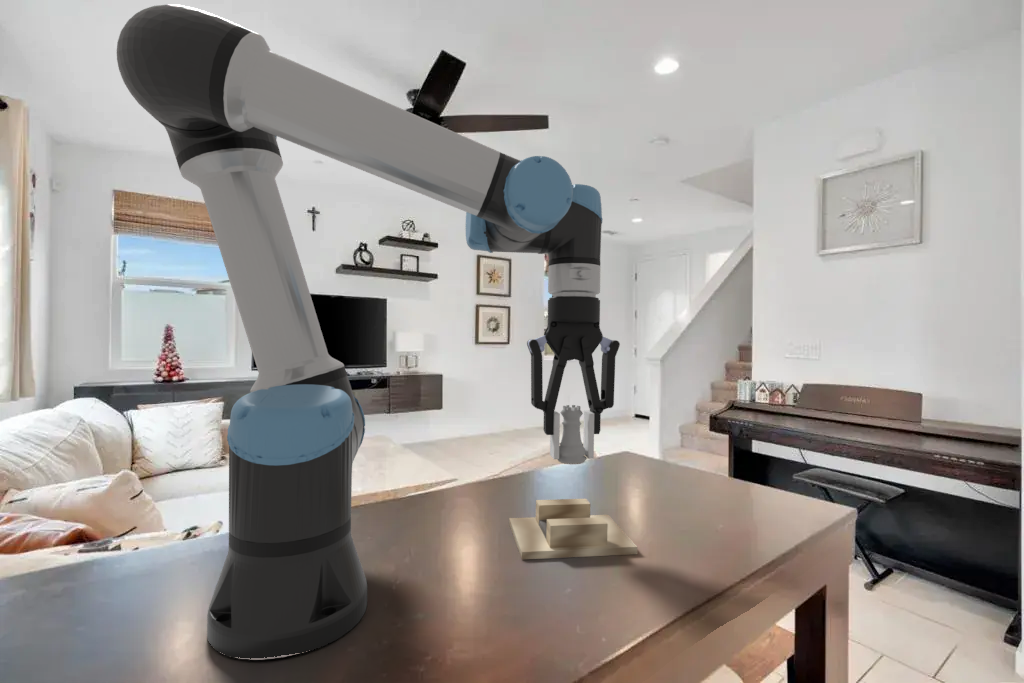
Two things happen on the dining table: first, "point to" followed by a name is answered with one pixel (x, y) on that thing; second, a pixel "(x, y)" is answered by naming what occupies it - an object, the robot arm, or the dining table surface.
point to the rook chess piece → (571, 437)
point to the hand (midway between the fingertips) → (571, 456)
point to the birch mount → (568, 532)
